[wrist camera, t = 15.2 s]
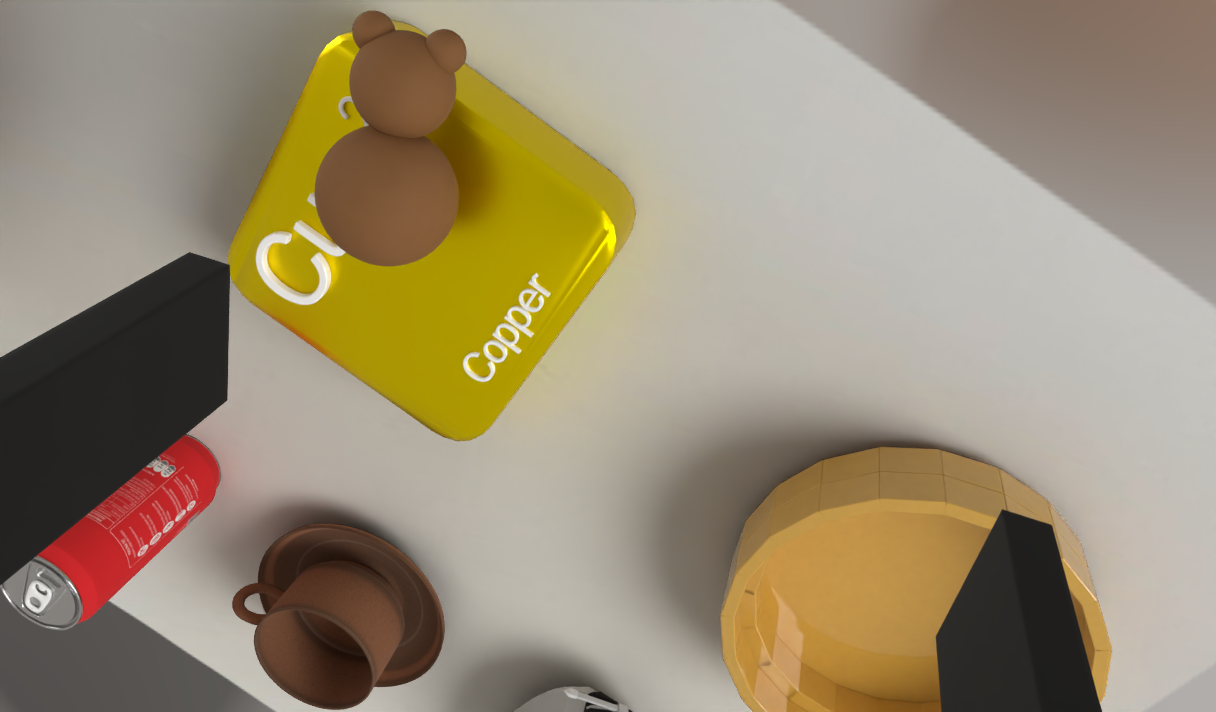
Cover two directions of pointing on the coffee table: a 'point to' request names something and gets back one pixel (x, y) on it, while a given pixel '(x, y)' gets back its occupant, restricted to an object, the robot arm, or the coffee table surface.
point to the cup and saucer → (341, 615)
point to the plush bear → (393, 147)
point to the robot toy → (572, 701)
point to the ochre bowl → (873, 580)
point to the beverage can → (115, 538)
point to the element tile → (436, 253)
